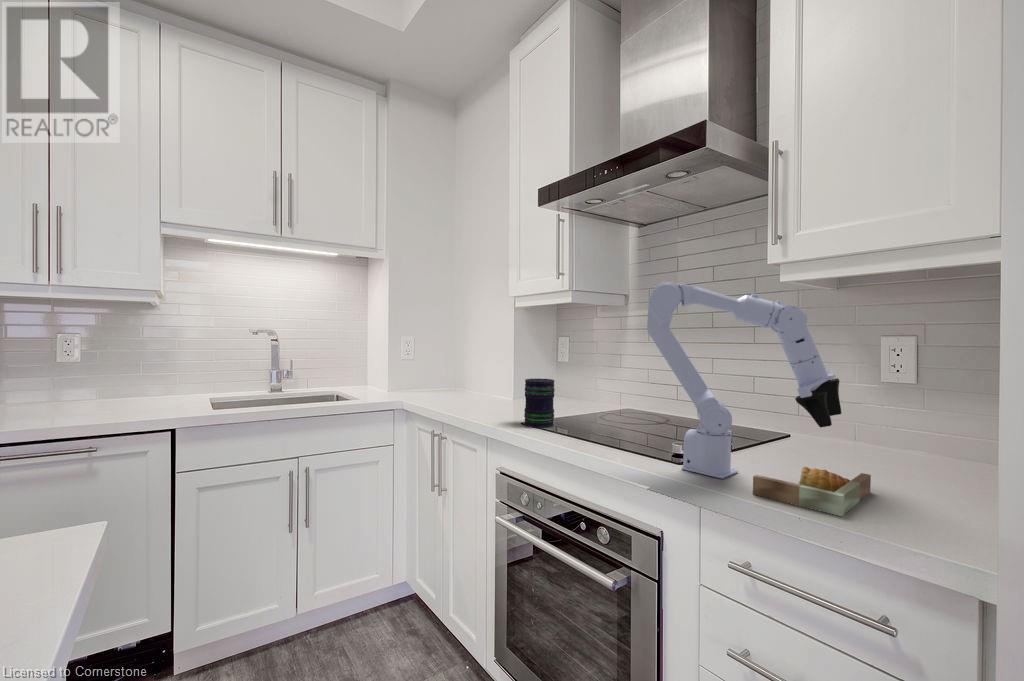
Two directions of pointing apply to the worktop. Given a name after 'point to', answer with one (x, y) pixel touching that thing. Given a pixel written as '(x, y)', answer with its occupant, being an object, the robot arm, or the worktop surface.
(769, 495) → the two-tone corner bracket
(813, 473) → the pastry
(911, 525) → the worktop surface
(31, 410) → the worktop surface
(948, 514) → the worktop surface
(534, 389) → the storage jar
